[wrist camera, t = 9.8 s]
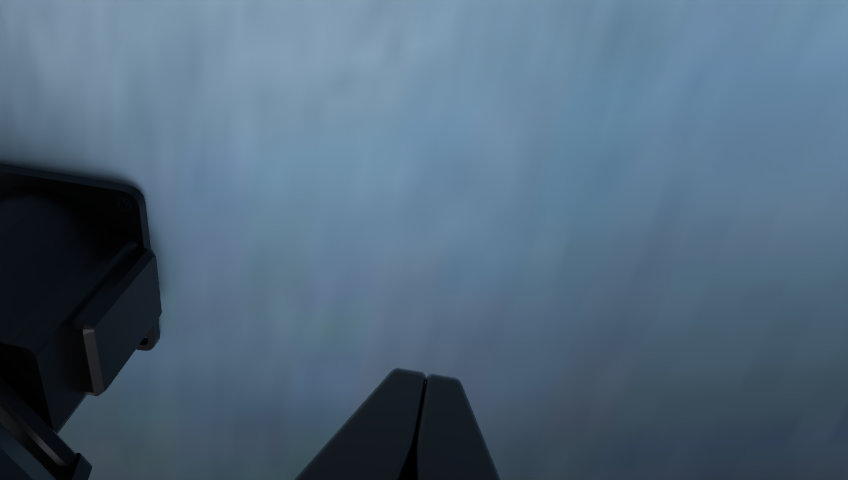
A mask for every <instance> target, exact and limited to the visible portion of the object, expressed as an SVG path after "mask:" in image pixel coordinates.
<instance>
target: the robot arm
mask: <svg viewBox="0 0 848 480" xmlns="http://www.w3.org/2000/svg"><path fill="white" fill-rule="evenodd" d="M122 198H125V199H127V200H128V201H129V202H130V203H131V205H132V206H129V205H127V204H126V203H125V202H124V201H123V199H122ZM161 313H162V310H161V301H160V291H159V282H158V273H157V263H156V256H155V254H154V253H153V251H152V250H151V249H150V240H149V231H148V222H147V213H146V204H145V199H144V196H143V195H142V193H141V192H140V191H139V190H138V189H136V188H135V187H133V186H130V185H125V184H119V183H113V182H106V181H100V180H94V179H88V178H82V177H76V176H69V175H63V174H57V173H51V172H45V171H39V170H32V169H26V168H20V167H14V166H8V165H2V164H0V480H88V478H89V475H90V472H91V469H92V465H91V464H90V463H89V462H88V461H87V460H86V459H85V458H84V457H83V456H82V455H81V454H80V453H75V452H74V451H73V450H72V449H71V448H70V447H69V446H68V445H67V444H66V443H65V442H64V441H63V440H62V439H61V438H60V437H59V435H58V432H59V431H60V430H61V428H62V427H63V426H64V424H65V423H66V422H67V420H68V419H69V418H70V417H71V415H72V414H73V413H74V411H75V410H76V409H77V407H78V406H79V405H80V403H81V402H82V401H83V399H84V398H85V397H86V395H93V396H99V395H100V394H101V393H103V392H104V391H105V390H106V389H107V388H108V387H109V385H110V384H111V383H112V381H113V380H114V378H115V377H116V376H117V374H118V373H119V372H120V370H121V369H122V367H123V366H124V365H125V363H126V362H127V361H128V359H129V358H130V356H131V355H132V354H133V352H134V351H135V350H136V349H137V350H144V351H148V350H151V349H152V348H153V347H154V346H155V345H156V343H157V342H158V340H159V339H160V330H159V321H158V318H159V317H160V315H161ZM145 337H147V338H145ZM425 381H426V383H425ZM424 388H425V389H424ZM295 480H500V478H499V475H498V473H497V470H496V468H495V465H494V463H493V460H492V458H491V456H490V453H489V451H488V448H487V446H486V443H485V441H484V438H483V436H482V433H481V431H480V428H479V426H478V423H477V421H476V418H475V416H474V413H473V411H472V408H471V406H470V404H469V401H468V399H467V396H466V394H465V391H464V389H463V386H462V384H461V382H460V381H459V380H458V379H457V378H453V377H448V376H442V375H436V374H430V375H428V376H427V378H426V376H425V374H424V373H422V372H419V371H413V370H407V369H401V368H396V369H394V370H392V371H391V372H390V373H389V374H388V376H387V377H386V378H385V379H384V380H383V381H382V382H381V383H380V384H379V386H378V387H377V388H376V389H375V390H374V391H373V392H372V393H371V395H370V396H369V397H368V398H367V399H366V400H365V401H364V402H363V403H362V405H361V406H360V407H359V408H358V409H357V410H356V411H355V412H354V414H353V415H352V416H351V417H350V418H349V419H348V420H347V421H346V423H345V424H344V425H343V426H342V427H341V428H340V429H339V430H338V431H337V433H336V434H335V435H334V436H333V437H332V438H331V439H330V440H329V442H328V443H327V444H326V445H325V446H324V447H323V448H322V449H321V450H320V452H319V453H318V454H317V455H316V456H315V457H314V458H313V459H312V461H311V462H310V463H309V464H308V465H307V466H306V467H305V468H304V469H303V471H302V472H301V473H300V474H299V475H298V476H297V477H296V478H295Z"/></svg>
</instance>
